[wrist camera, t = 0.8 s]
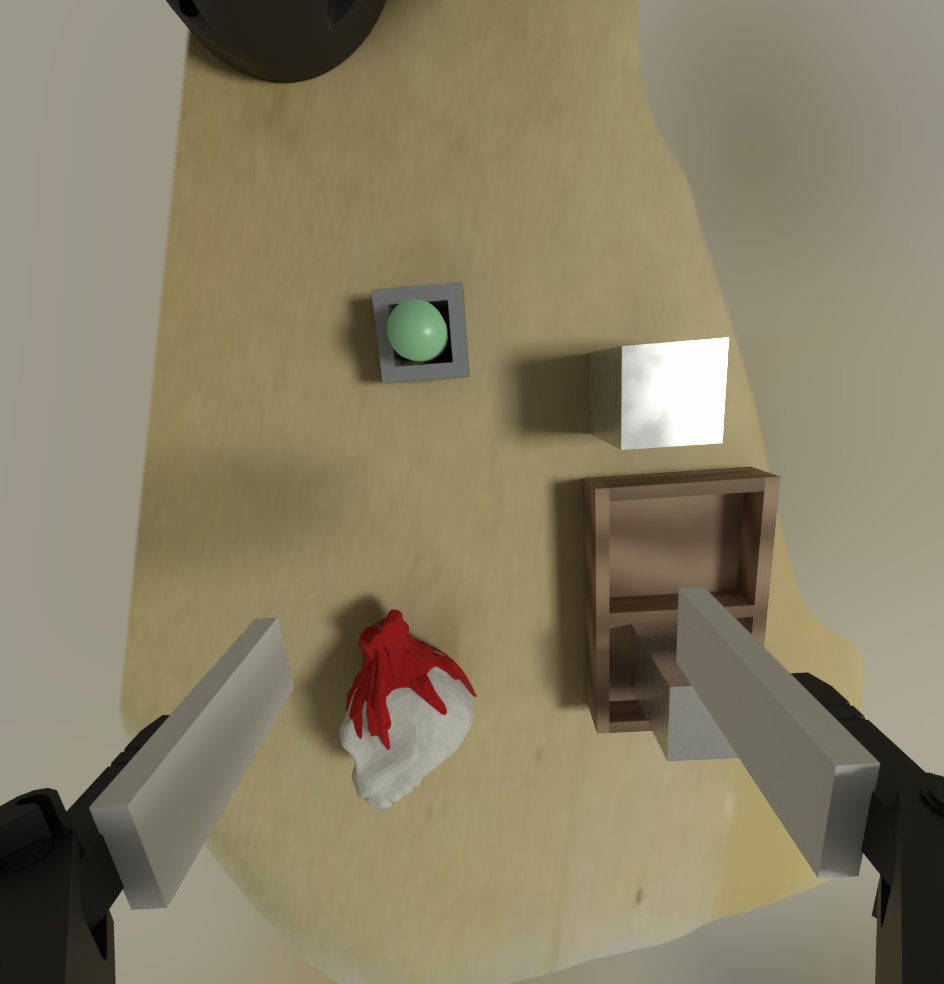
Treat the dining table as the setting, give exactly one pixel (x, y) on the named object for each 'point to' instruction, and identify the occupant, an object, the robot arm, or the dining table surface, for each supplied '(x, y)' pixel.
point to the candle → (402, 712)
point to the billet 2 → (672, 697)
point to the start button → (417, 331)
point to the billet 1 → (659, 394)
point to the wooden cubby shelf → (669, 565)
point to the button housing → (437, 297)
